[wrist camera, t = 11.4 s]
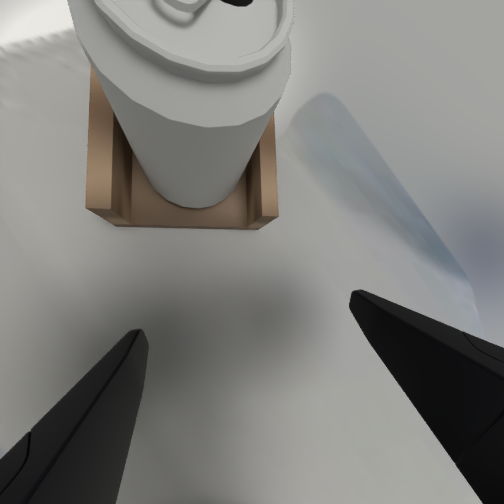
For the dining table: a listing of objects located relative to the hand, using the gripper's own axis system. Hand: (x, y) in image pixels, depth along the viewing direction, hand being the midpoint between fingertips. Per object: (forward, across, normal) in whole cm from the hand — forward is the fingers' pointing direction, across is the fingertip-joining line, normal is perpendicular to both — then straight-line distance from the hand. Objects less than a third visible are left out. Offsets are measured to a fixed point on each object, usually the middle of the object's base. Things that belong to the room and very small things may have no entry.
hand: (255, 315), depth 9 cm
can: (+13, +2, -5) cm, 14 cm away
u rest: (+14, +2, -5) cm, 15 cm away
